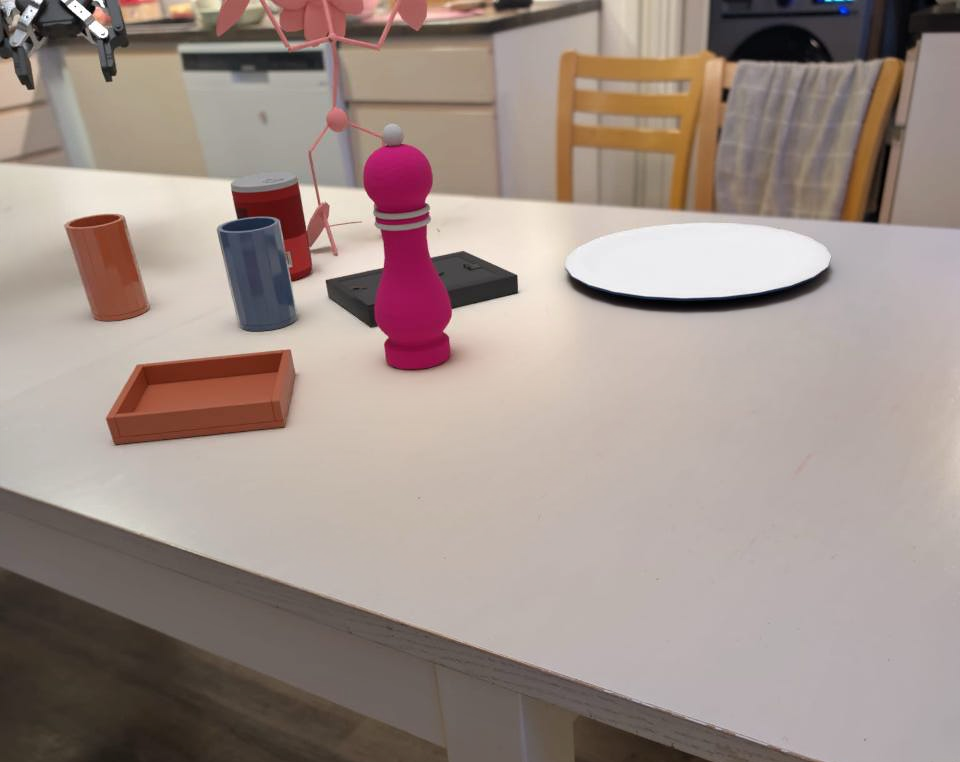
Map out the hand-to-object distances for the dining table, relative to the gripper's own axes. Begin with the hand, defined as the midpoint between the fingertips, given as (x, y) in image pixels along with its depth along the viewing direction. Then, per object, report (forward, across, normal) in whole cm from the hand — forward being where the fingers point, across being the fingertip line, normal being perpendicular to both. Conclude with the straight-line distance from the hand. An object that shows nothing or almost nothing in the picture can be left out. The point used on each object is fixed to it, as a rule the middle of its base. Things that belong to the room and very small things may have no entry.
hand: (68, 80), depth 105 cm
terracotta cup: (+24, 0, +8) cm, 25 cm away
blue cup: (+32, +17, 0) cm, 36 cm away
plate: (+34, +65, -3) cm, 73 cm away
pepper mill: (+44, +30, -13) cm, 56 cm away
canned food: (+20, +19, +12) cm, 30 cm away
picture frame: (+31, +34, +1) cm, 46 cm away
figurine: (+10, +29, +22) cm, 38 cm away
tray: (+47, +11, -17) cm, 51 cm away
